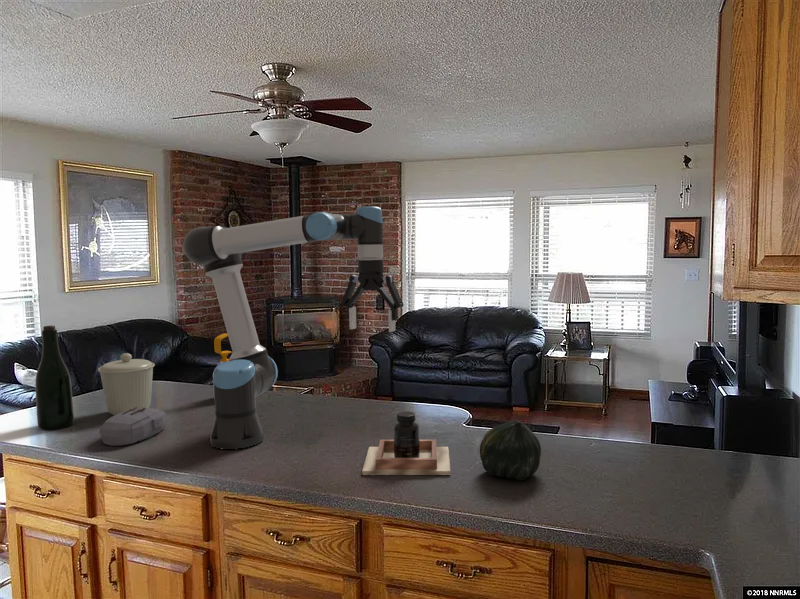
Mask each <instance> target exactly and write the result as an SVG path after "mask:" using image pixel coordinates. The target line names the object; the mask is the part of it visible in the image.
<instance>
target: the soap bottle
mask: <svg viewBox="0 0 800 599" xmlns="http://www.w3.org/2000/svg"><path fill="white" fill-rule="evenodd" d="M227 337H228V333H224V332H223V333H222V334H219V335H217V336H216V337H215V338H214V341H213V346H214V352H215V353H216V354H220V356H221V359H219V360H220V361H219V364H221V363H223V362H229V361H230V359H229V358H228V357H227V356H229V354H232V353H233V351H230V350H222V345H221V344H222V343H221V342H222V340H224V339H225V338H227ZM213 377H214V371H213V373H212V378H213ZM212 385H213V386H212V387H213V391H214V383H213V382H212Z"/></svg>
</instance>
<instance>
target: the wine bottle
mask: <svg viewBox="0 0 800 599" xmlns="http://www.w3.org/2000/svg"><path fill="white" fill-rule="evenodd" d="M41 336H42V353H41V360H40V362H39V364H38V367H37V371H36V374H35V404H36V418H37V419H36V421H37V427H38V429H40V430H43V431H46V430H47V431H49V430H52V431H53V430H59V429H64V428H67V427H70V426H71V425H73V424H74V423H75V411H74V399H73V390H72V381H71V375H70V372H69V369H68V367H67V365H66V363H65V361H64V359H63V358H62V355H61V353H60V346H59V341H58V330H57V328H56V326H55V325H44V326H43V329H42V330H41Z"/></svg>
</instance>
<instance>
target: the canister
mask: <svg viewBox="0 0 800 599" xmlns="http://www.w3.org/2000/svg"><path fill="white" fill-rule="evenodd" d="M155 366H156V365H155V363H154V362H152V361H150V360H149V359H148V360H147V359H144V358H143V359H142V358H133V356H132V354H130V353H128V352H126V353H125V352H124V353H123V354H121V355H120V360H115V361H109V362H106V363H105V364H102V366H100V367H98V369H97V371H98V372H99V373H100V378H101V384H102V391H103V395H104V400H105V403H106V409H107V411H108V412H109V414H110V415H112V416H115V415H117V414H119V413H122V412H124V411H129V410H130V409H134V408H135V407H137V409H140V408H151V407H150V406H151V402H152V391H153V389H152V388H153V374H154V372H153V371H154V367H155Z"/></svg>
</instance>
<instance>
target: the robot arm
mask: <svg viewBox="0 0 800 599" xmlns="http://www.w3.org/2000/svg"><path fill="white" fill-rule="evenodd" d="M383 224H384V221H383V209H381V207H379V206H359V207H357V208H356V213H349V214H348V213H347V214H346V213H344V214H343V213H340V214H338V213H330V212H326V211H318V212H314V213H312V214H307V215H299V216H295V217H294V216H293V217H288V218H282V219H275V220H269V221H264V222H262V221H261V222H257V223H251V224H245V225H238V226H233V227H224V226H221V225H217V226H198V227H195V228H192V229H191V230H190V231H189V232H187V234H186V235H185V237H184V238H183V248H182V249H183V252H184V253H185V256H186V257H187V259H189V261H190V262H192V263H193V264H196V265H197V266H203V269H204V273H205V275H206V276H208V277H210V278H211V279H212V283H213V286H214V289H215V293H216V296H217V300H218V304H219V308H220V311H221V315H222V319H223V322H224V326H225V329H226V332H227V333H226V334H228V336H227V337H228V340H229V344H230V347H231V350H232V351H231V352H232V353H231V356H230V357H229V358H228V359H229V362H223V363H221V364H220V363H219V364H218V365H216V367H215V368H214V370H213V372H214V377H213V376H212V381H213V382H212V384H213V383H214V390H213V399H214V413H215V414H214V415H215V416H214V422H213V426H212V428H211V431H210V432H211V433H210V437H209V439H210V440H209V442H210V444H211V445H210V446H211V447H212V446H213V447H212V448H214V447H216V448H215V449H217V448H223V449H235V450H237V449H236V448H243V449H246V448H245V447H248V448H250V447H249V446H252V447H254V446H253V445H255V446H257V445H259V444H261V443H262V442H263V441H264V431H263V428H262V426H261V424H260V420H259V418H258V415H257V402H256V399H257V397H259V396H260V395H262V394H265V393H267V392H268V391H269V390H270V389H271V388H272V387H273V386H274V385H275V384H276V382H277V380H278V379H277V378H278V374H279V373H278V372H279V370H278V366H277V364H276V362H275V361H274V359H273V358H272V357H271V356H269V354H268V350H267V348H266V347H264V346H263V345H261V344H260V341H259V336H258V332H257V330H256V325H255V323H254V322H255V321H254V319H253V315H252V312H251V308H250V304H249V302H248V301H249V300H248V297H247V293H246V290H245V286H244V283H243V280H242V279H243V278H242V276H241V275H242V274H241V269H242V268H243V266H244V264H243V260H242V255H243V253H249V252H254V251H260V250H266V249H267V250H268V249H273V248H279V247H280V248H281V247H286V246H293V245H299V244H306V243H314V242H320V241H336V240H337V241H339V240H340V241H341V240H342V241H343V240H357V258H358V259H359V260H358V261H357V267H358V268H357V269H358V270H357V271H358V275H356V274H351V275H349V279H348V281H349V282H348V284H347V287H346V290H345V292H344V294H343V297H342V299H341V302H340V305H341V306H344V307H345V308H346V317H347V319H348V321H349V324H348V325H349V330H355V329H357V308H356V306H355V305H356V303H357V302H358V300H359V299H360V298H361V296H362V295H363V294H364V292H367V291H368V292H369V291H371V292H374V291H376V292H377V293H379V295H380V296H381V297H382V298H383V300H384V301H385V303H386V304H387V305H388V307H389V309H388V332H389V333H393V332H395V331H396V321H397V320H398V313H399V312H398V310H399V309H400V308H403V307H404V304H405V303H404V302H403V300H402V298H401V294H399V291H398V289H397V287H396V285H395V282H394V276H393V275H392V274H391V275H386V276H385V275H384V260H383V259H382V258H384V242H383V241H384V237H383V235H384V234H383V233H384V232H383V231H384V227H383V226H384V225H383ZM358 282H359V285H358V286H357V283H358ZM384 283H385V284H386V287H387V288H386V287H385V284H384ZM356 286H357V288H356ZM355 289H356V290H355ZM387 289H388V290H387ZM388 291H389V292H388ZM262 440H263V441H262ZM261 441H262V442H261ZM260 442H261V443H260ZM258 443H259V444H258ZM256 444H257V445H256ZM223 449H222V450H223Z"/></svg>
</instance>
